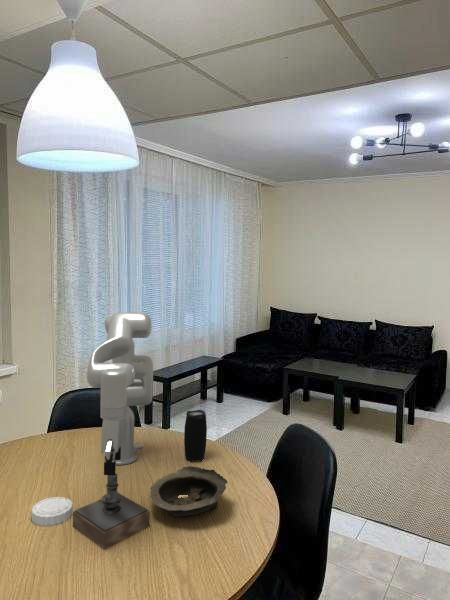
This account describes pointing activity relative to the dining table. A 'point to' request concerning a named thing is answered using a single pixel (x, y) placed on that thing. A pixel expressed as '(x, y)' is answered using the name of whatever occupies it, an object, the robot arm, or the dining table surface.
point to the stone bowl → (188, 491)
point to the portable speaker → (195, 435)
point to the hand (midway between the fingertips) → (112, 467)
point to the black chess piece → (111, 496)
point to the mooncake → (52, 511)
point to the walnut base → (110, 521)
